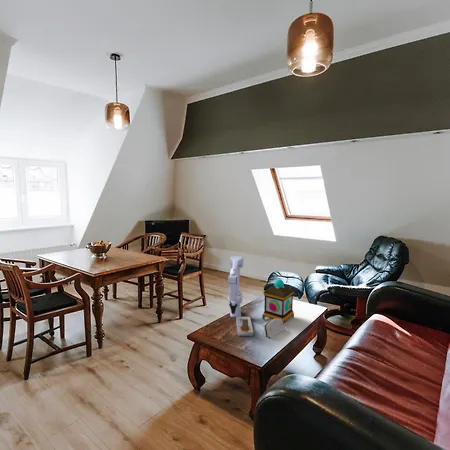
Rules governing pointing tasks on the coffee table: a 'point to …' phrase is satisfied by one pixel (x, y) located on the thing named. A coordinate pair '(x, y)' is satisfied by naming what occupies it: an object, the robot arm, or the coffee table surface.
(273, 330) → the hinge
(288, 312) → the decorative lantern
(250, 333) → the peg-in-hole board
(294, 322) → the coffee table surface
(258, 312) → the coffee table surface
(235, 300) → the robot arm
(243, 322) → the walnut peg
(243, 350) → the coffee table surface
